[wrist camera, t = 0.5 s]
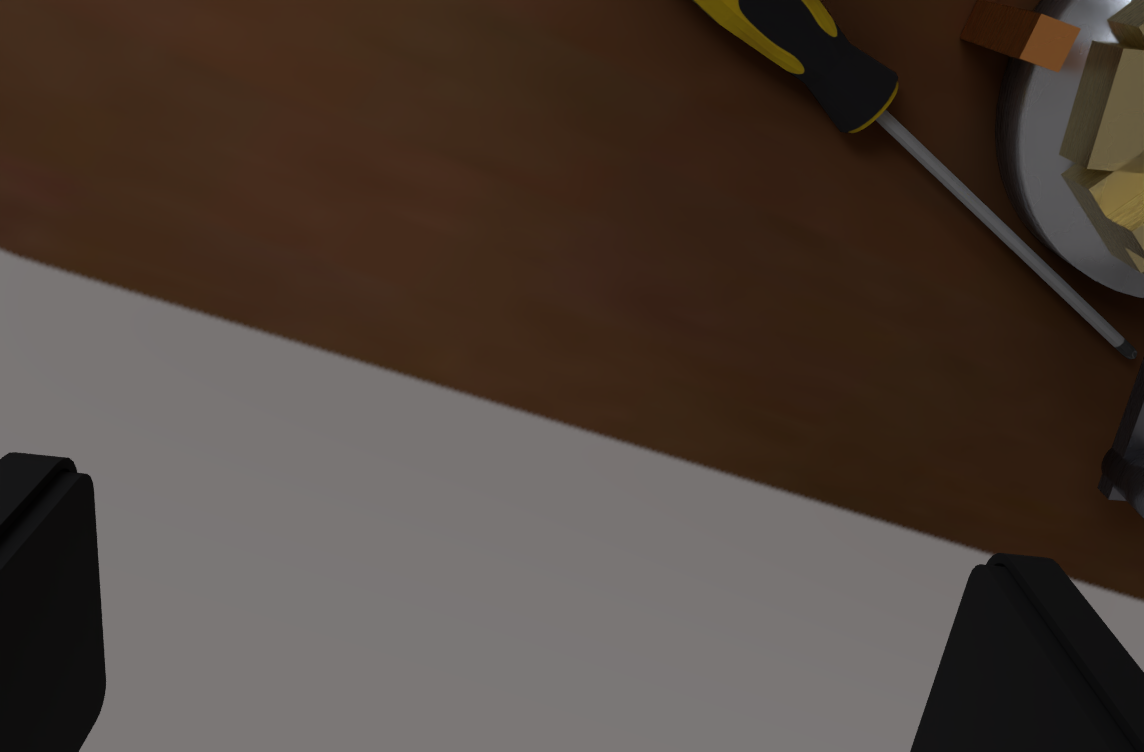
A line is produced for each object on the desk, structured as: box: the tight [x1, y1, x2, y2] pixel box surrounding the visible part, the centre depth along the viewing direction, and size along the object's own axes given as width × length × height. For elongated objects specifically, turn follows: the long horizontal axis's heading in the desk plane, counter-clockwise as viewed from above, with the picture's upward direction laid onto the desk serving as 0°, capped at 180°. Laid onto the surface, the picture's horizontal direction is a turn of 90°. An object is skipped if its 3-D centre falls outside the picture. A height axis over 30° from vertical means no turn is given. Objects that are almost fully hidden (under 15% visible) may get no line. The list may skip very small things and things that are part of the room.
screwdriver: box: [692, 0, 1137, 359], centre depth 43 cm, size 3×3×30 cm
